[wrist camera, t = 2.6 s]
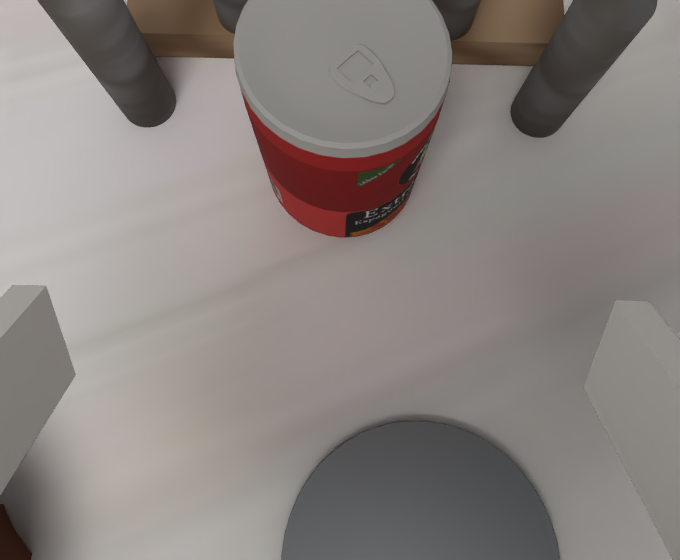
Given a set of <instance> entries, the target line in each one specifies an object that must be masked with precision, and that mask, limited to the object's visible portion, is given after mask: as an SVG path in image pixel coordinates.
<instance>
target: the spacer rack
mask: <svg viewBox="0 0 680 560" xmlns="http://www.w3.org/2000/svg"><path fill="white" fill-rule="evenodd" d="M247 1H248V0H128V2H127V6H126V4H125V2H124V0H38V2H39V3H40V4H41V6H42V7H43V8H44V10H45V11H46V12H47V14H48V15H49V16H50V18H51V19H52V20H53V22H54V23H55V24H56V25H57V27H58V28H59V29H60V31H61V32H62V33H63V35H64V36H65V37H66V39H67V40H68V41H69V43H70V44H71V45H72V46H73V48H74V49H75V50H76V52H77V53H78V54H79V56H80V57H81V58H82V60H83V61H84V62H85V64H86V65H87V66H88V67H89V69H90V70H91V71H92V73H93V74H94V75H95V77H96V78H97V79H98V81H99V82H100V83H101V85H102V86H103V87H104V88H105V90H106V91H107V92H108V94H109V95H110V96H111V98H112V99H113V100H114V102H115V103H116V104H117V106H118V107H119V108H120V109H121V111H122V112H123V113H124V115H125V116H126V117H127V119H128V120H129V121H130V122H132V123H133V124H135V125H137V126H141V127H154V126H157V125H160V124H162V123H163V122H165V121H166V120H167V119H168V118H169V117H170V116H171V115H172V113H173V111H174V109H175V104H176V99H175V95H174V92H173V90H172V88H171V87H170V85H169V83H168V81H167V79H166V77H165V76H164V74H163V72H162V70H161V68H160V66H159V65H158V63H157V61H156V59H155V57H154V56H170V57H209V58H234V37H235V31H236V25H237V22H238V20H239V17H240V15H241V12H242V10H243V7H244V6H245V4H246V3H247ZM432 1H433V2H434V4H435V5H436V7H437V9H438V10H439V12H440V13H441V15H442V17H443V19H444V22H445V24H446V27H447V30H448V32H449V36H450V42H451V48H452V64H482V65H521V66H534V67H533V69H532V71H531V72H530V74H529V76H528V77H527V79H526V81H525V82H524V84H523V86H522V87H521V89H520V91H519V92H518V94H517V96H516V97H515V99H514V101H513V103H512V105H511V117H512V120H513V122H514V124H515V126H516V127H517V128H518V129H519V130H520V131H521V132H523V133H524V134H526V135H529V136H532V137H546V136H549V135H552V134H553V133H555V132H556V131H557V130H558V129H559V128H560V127H561V126H562V124H563V123H564V122H565V121H566V120H567V118H568V117H569V116H570V115H571V114H572V112H573V111H574V110H575V109H576V107H577V106H578V105H579V104H580V103H581V101H582V100H583V99H584V98H585V97H586V95H587V94H588V93H589V92H590V91H591V89H592V88H593V87H594V86H595V85H596V83H597V82H598V81H599V80H600V79H601V77H602V76H603V75H604V74H605V73H606V71H607V70H608V69H609V68H610V67H611V65H612V64H613V63H614V62H615V60H616V59H617V58H618V57H619V56H620V54H621V53H622V52H623V51H624V50H625V48H626V47H627V46H628V45H629V44H630V42H631V41H632V40H633V39H634V38H635V36H636V35H637V34H638V33H639V32H640V30H641V29H642V28H643V27H644V26H645V24H646V23H647V22H648V21H649V20H650V18H651V17H652V16H653V14H654V12H655V10H656V6H657V0H573V2H572V3H571V5H570V7H569V9H568V10H567V12H566V14H565V15H564V6H563V0H432Z"/></svg>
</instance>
